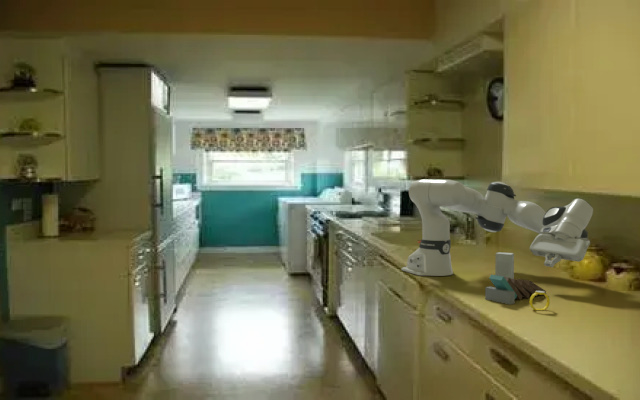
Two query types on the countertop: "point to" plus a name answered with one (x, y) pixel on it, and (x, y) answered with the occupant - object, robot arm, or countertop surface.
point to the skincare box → (504, 264)
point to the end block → (500, 295)
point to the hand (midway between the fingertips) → (548, 265)
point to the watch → (540, 294)
